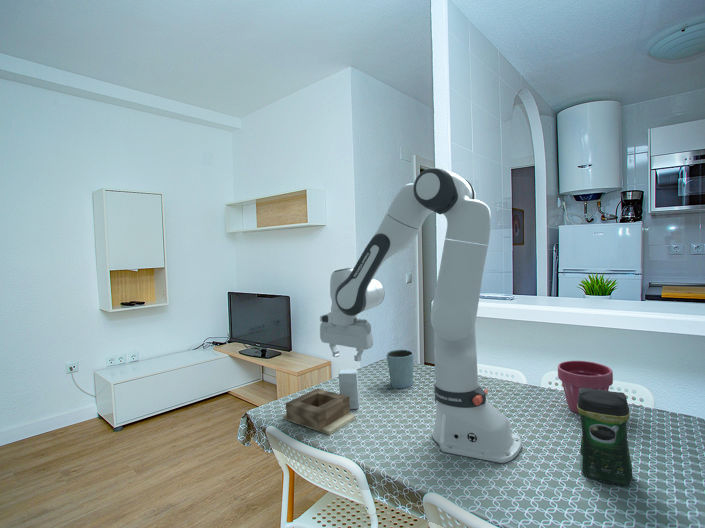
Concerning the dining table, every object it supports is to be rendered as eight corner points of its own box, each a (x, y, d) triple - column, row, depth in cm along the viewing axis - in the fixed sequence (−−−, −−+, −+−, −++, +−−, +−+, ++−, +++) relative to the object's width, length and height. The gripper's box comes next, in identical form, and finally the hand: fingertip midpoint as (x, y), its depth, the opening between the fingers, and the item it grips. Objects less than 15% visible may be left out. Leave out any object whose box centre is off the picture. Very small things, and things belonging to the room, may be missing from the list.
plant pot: (604, 424, 105) (602, 379, 104) (551, 410, 116) (549, 368, 115) (620, 408, 114) (619, 366, 114) (570, 396, 125) (568, 357, 124)
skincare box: (359, 404, 129) (357, 369, 128) (358, 409, 125) (356, 373, 124) (342, 404, 130) (339, 369, 129) (340, 409, 125) (338, 373, 125)
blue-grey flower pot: (419, 381, 147) (417, 350, 146) (408, 390, 138) (406, 358, 137) (395, 378, 152) (393, 348, 151) (383, 386, 143) (381, 355, 143)
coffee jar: (632, 471, 84) (629, 388, 83) (633, 491, 78) (630, 401, 77) (581, 459, 90) (578, 381, 89) (577, 477, 83) (574, 393, 82)
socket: (357, 417, 119) (356, 398, 119) (327, 436, 108) (326, 415, 108) (311, 403, 131) (310, 386, 131) (280, 419, 121) (279, 401, 120)
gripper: (376, 318, 122) (377, 361, 123) (328, 313, 135) (330, 352, 135) (364, 321, 117) (366, 366, 118) (316, 316, 130) (318, 356, 131)
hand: (346, 358), depth 127 cm, fingers open, 8 cm apart
